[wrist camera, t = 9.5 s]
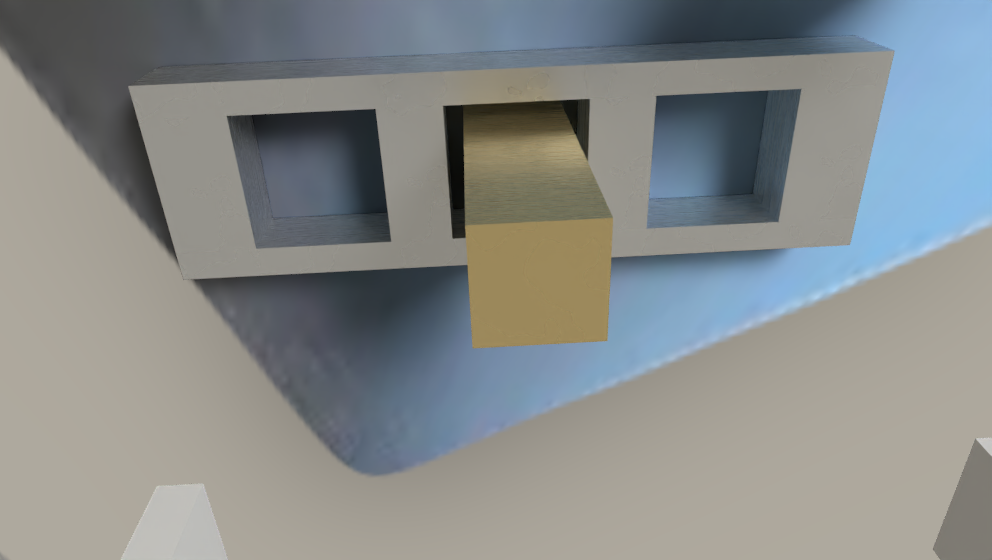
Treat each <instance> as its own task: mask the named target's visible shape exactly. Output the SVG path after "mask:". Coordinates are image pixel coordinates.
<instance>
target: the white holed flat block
mask: <svg viewBox="0 0 992 560" xmlns="http://www.w3.org/2000/svg"><path fill="white" fill-rule="evenodd" d="M893 56H894V50H892V49H889V48H886V47H884V46H881V45H879V44H876V43H874V42H871V41H869V40H866V39H864V38H861V37H859V36H856V35H851V36H829V37H807V38H785V39H763V40H741V41H719V42H697V43H675V44H653V45H631V46H609V47H588V48H566V49H544V50H522V51H500V52H478V53H456V54H434V55H412V56H390V57H368V58H346V59H325V60H303V61H281V62H259V63H237V64H215V65H193V66H171V67H158V68H156V69H155V70H153V71H152V72H150V73H148V74H147V75H145V76H144V77H142V78H140V79H139V80H137V81H136V82H134V83H132V84H131V85H129V86H128V87H129V91H130V94H131V98H132V101H133V105H134V108H135V112H136V115H137V119H138V122H139V126H140V129H141V133H142V136H143V140H144V144H145V147H146V151H147V154H148V158H149V161H150V165H151V168H152V172H153V175H154V179H155V182H156V186H157V189H158V193H159V196H160V200H161V203H162V207H163V210H164V214H165V217H166V221H167V224H168V228H169V231H170V235H171V238H172V242H173V245H174V249H175V252H176V256H177V259H178V263H179V266H180V270H181V273H182V277H183V280H186V279H206V278H225V277H244V276H263V275H282V274H302V273H321V272H340V271H359V270H378V269H398V268H417V267H436V266H455V265H468V264H467V248H466V232H465V209H453V202H452V188H451V174H450V159H449V145H448V131H447V117H446V106H448V105H469V104H490V103H511V102H532V101H554V100H575V99H578V119H577V139H578V141H579V144H580V146H581V148H582V150H583V152H584V155H585V157H586V159H587V161H588V163H589V166H590V168H591V170H592V172H593V174H594V177H595V179H596V181H597V183H598V185H599V188H600V190H601V192H602V194H603V196H604V199H605V201H606V203H607V205H608V207H609V210H610V212H611V214H612V216H613V233H612V254H611V257H628V256H647V255H667V254H686V253H705V252H724V251H743V250H763V249H782V248H801V247H820V246H840V245H850V242H851V238H852V234H853V229H854V225H855V220H856V216H857V212H858V207H859V203H860V199H861V194H862V190H863V186H864V181H865V177H866V173H867V168H868V164H869V160H870V155H871V151H872V147H873V142H874V138H875V134H876V129H877V125H878V121H879V116H880V112H881V108H882V103H883V99H884V95H885V90H886V86H887V82H888V77H889V73H890V69H891V64H892V60H893ZM765 90H768V96H767V102H766V109H765V116H764V122H763V129H762V135H761V142H760V149H759V155H758V162H757V169H756V175H755V182H754V189H753V194H746V195H726V196H707V197H687V198H667V199H649V188H650V174H651V161H652V148H653V134H654V121H655V107H656V96H659V95H681V94H702V93H723V92H744V91H765ZM363 109H376V117H377V125H378V134H379V142H380V151H381V159H382V167H383V176H384V184H385V193H386V201H387V210H388V213H369V214H349V215H329V216H309V217H290V218H273V217H272V212H271V207H270V202H269V197H268V192H267V188H266V183H265V178H264V173H263V168H262V163H261V158H260V153H259V149H258V144H257V139H256V134H255V129H254V124H253V119H252V115H257V114H278V113H299V112H320V111H342V110H363Z"/></svg>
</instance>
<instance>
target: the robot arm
mask: <svg viewBox="0 0 992 560" xmlns="http://www.w3.org/2000/svg"><path fill="white" fill-rule="evenodd" d="M933 550H934V551H935V553H936V554H937V556H938V557H939V558H940V560H992V438H982V439H981V438H980V439H975V441H974V444H973V446H972V449H971V452H970V454H969V457H968V460H967V462H966V464H965V467H964V470H963V472H962V475H961V477H960V480H959V483H958V485H957V488H956V490H955V493H954V496H953V499H952V501H951V503H950V506H949V508H948V511H947V514H946V516H945V519H944V521H943V524H942V526H941V529H940V532H939V534H938V537H937V539H936V542H935V545H934V547H933ZM121 560H228V558H227V555H226V552H225V549H224V546H223V543H222V540H221V537H220V534H219V531H218V528H217V525H216V522H215V519H214V516H213V512H212V510H211V506H210V503H209V500H208V497H207V494H206V491H205V488H204V485H203V484H187V485H169V486H157V487H156V489H155V491H154V493H153V496H152V497H151V499H150V501H149V503H148V506H147V507H146V509H145V512H144V513H143V515H142V518H141V520H140V522H139V524H138V526H137V528H136V530H135V532H134V534H133V536H132V538H131V540H130V542H129V544H128V546H127V548H126V550H125V552H124V554H123V556H122V558H121Z"/></svg>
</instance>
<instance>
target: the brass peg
mask: <svg viewBox="0 0 992 560" xmlns="http://www.w3.org/2000/svg"><path fill="white" fill-rule="evenodd" d="M463 129H464V188H465V232H466V248H467V264H468V280H469V296H470V312H471V328H472V344H473V348H487V347H505V346H524V345H542V344H560V343H578V342H597V341H607V335H608V315H609V294H610V274H611V254H612V233H613V216H612V214H611V212H610V210H609V207H608V205H607V203H606V201H605V199H604V196H603V194H602V192H601V190H600V188H599V185H598V183H597V181H596V179H595V177H594V174H593V172H592V170H591V168H590V166H589V163H588V161H587V159H586V157H585V155H584V152H583V150H582V148H581V146H580V144H579V141H578V139H577V137H576V135H575V133H574V130H573V128H572V126H571V124H570V122H569V119H568V117H567V115H566V113H565V111H564V108H563V106H562V104H561V102H560V100H554V101H532V102H511V103H490V104H469V105H463Z"/></svg>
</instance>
